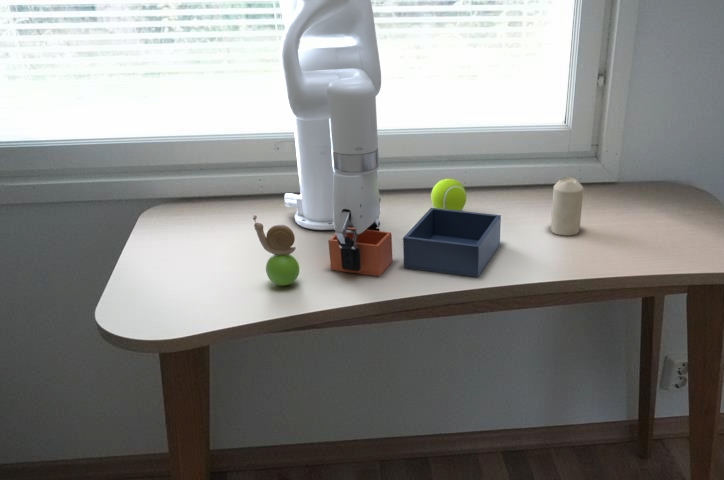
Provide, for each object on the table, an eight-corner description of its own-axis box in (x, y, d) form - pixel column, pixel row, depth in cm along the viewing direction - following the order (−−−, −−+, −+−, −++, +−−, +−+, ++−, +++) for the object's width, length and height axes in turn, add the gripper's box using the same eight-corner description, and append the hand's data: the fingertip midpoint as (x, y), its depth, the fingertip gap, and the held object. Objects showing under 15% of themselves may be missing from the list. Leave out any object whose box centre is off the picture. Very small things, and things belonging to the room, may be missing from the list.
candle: (578, 237, 157) (582, 185, 152) (549, 234, 158) (552, 183, 152) (580, 226, 162) (584, 175, 156) (552, 224, 162) (555, 173, 157)
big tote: (403, 267, 145) (402, 237, 142) (431, 236, 157) (430, 207, 154) (478, 277, 141) (478, 246, 138) (499, 244, 154) (501, 215, 151)
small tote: (330, 270, 144) (328, 240, 141) (345, 255, 149) (343, 226, 146) (379, 276, 142) (377, 246, 139) (392, 261, 147) (391, 232, 144)
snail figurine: (263, 278, 141) (254, 209, 134) (302, 276, 141) (294, 208, 135) (260, 291, 136) (250, 222, 130) (299, 290, 137) (292, 221, 130)
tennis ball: (425, 211, 168) (424, 177, 164) (454, 205, 171) (454, 172, 167) (442, 222, 163) (442, 187, 159) (472, 216, 166) (473, 181, 162)
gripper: (354, 144, 143) (360, 239, 152) (311, 173, 129) (321, 276, 138) (395, 147, 141) (399, 243, 151) (356, 178, 127) (363, 281, 137)
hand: (361, 258), depth 144 cm, fingers open, 8 cm apart
